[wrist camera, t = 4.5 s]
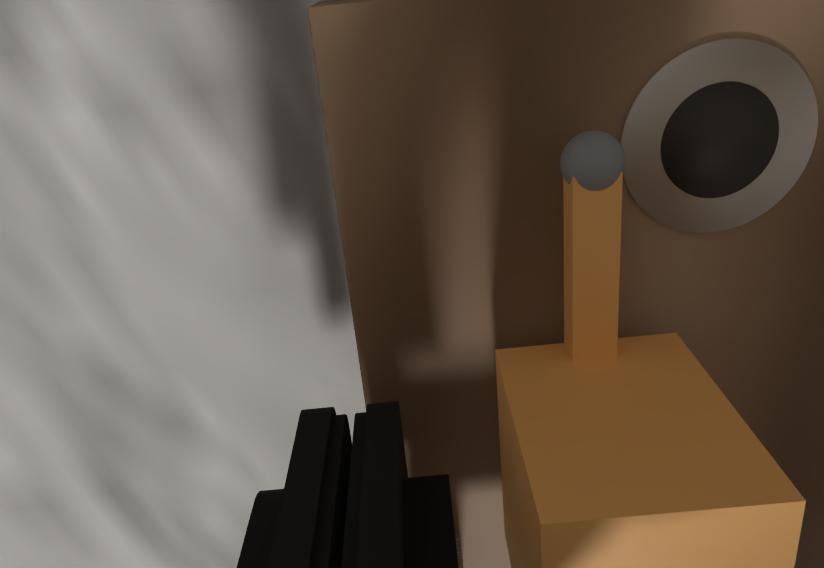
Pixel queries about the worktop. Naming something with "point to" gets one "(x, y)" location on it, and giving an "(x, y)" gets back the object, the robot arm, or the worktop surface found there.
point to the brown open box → (544, 209)
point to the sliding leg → (627, 425)
